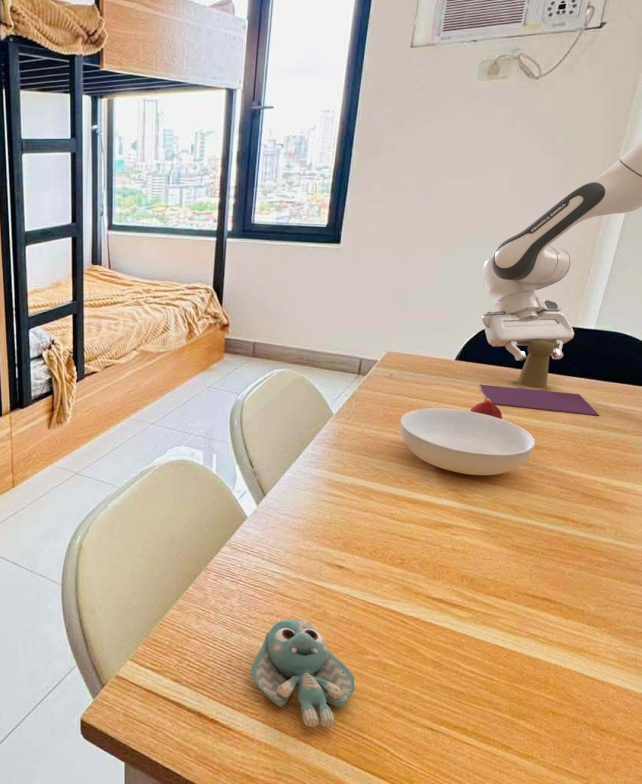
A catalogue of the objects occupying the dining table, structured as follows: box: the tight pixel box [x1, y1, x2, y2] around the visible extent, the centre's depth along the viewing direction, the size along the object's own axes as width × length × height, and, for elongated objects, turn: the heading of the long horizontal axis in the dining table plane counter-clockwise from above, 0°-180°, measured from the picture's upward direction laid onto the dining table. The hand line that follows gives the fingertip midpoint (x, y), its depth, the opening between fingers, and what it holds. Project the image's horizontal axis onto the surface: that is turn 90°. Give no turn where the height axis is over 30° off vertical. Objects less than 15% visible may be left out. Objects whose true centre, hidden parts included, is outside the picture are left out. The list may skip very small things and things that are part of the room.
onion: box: [469, 397, 503, 420], centre depth 126 cm, size 6×6×8 cm
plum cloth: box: [479, 383, 600, 417], centre depth 146 cm, size 20×14×1 cm
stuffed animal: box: [250, 619, 355, 728], centre depth 66 cm, size 11×7×12 cm
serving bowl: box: [400, 407, 536, 476], centre depth 115 cm, size 21×21×7 cm
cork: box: [516, 340, 554, 389], centre depth 155 cm, size 6×6×11 cm
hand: (540, 358), depth 154 cm, fingers open, 8 cm apart
